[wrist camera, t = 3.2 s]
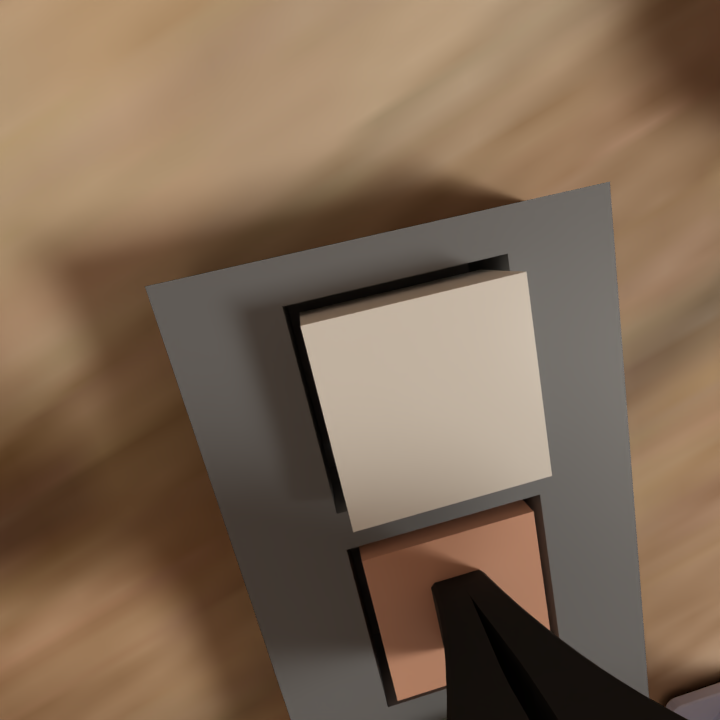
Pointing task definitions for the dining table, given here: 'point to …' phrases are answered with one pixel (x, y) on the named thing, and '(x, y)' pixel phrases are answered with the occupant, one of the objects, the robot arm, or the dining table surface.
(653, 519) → the dining table surface
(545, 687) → the robot arm
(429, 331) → the cream key
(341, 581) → the key panel
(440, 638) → the terracotta key
